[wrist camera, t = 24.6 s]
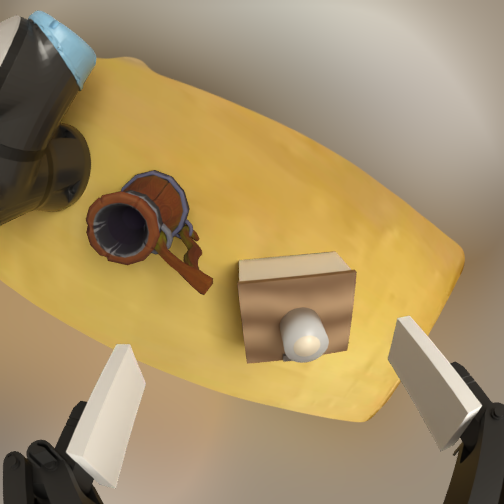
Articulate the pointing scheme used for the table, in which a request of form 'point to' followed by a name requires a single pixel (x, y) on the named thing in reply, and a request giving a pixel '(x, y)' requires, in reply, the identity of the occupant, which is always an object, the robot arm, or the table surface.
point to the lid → (291, 297)
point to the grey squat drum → (303, 335)
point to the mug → (146, 225)
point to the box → (290, 266)
